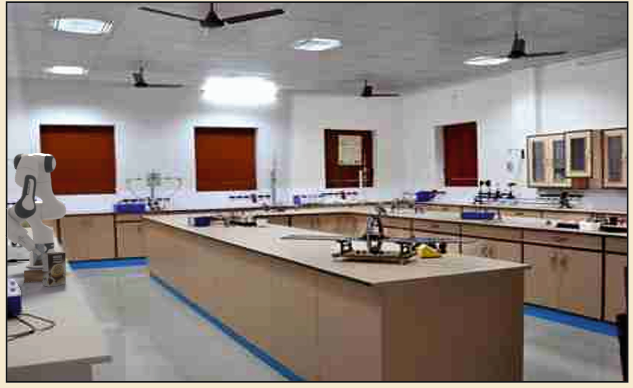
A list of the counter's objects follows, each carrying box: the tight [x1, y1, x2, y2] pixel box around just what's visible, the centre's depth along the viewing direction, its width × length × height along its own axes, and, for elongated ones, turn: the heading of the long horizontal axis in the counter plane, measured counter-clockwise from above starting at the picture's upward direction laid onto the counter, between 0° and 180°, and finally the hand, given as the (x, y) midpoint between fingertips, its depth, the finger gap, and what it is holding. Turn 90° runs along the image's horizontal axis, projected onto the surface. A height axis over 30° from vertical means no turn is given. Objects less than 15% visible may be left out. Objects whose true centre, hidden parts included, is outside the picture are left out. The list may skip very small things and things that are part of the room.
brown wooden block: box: [23, 269, 43, 284], centre depth 315 cm, size 11×14×6 cm
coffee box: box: [42, 251, 67, 288], centre depth 301 cm, size 9×6×16 cm
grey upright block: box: [33, 243, 45, 266], centre depth 315 cm, size 6×6×11 cm
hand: (40, 253), depth 315 cm, fingers closed on grey upright block, 6 cm apart
